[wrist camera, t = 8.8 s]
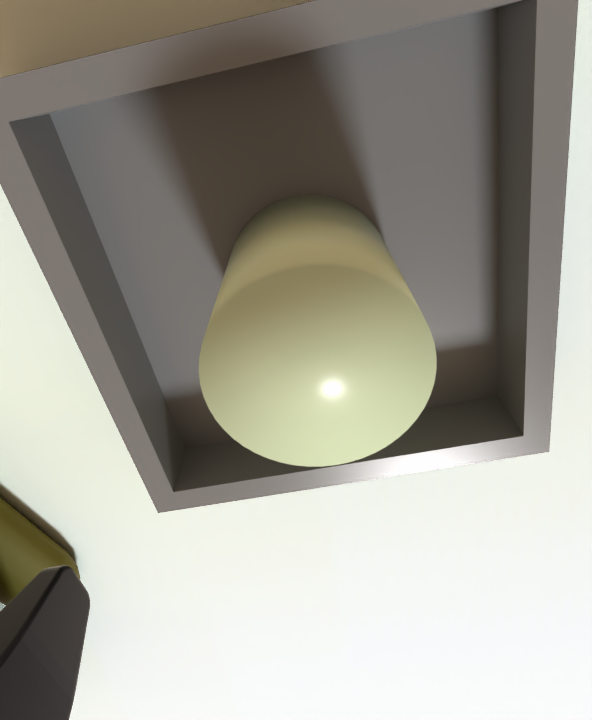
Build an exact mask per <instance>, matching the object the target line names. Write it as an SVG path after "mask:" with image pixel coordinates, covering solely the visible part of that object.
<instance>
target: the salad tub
mask: <svg viewBox="0 0 592 720" xmlns="http://www.w3.org/2000/svg"><path fill="white" fill-rule="evenodd" d="M436 366H437V356H436V349H435V343H434V340H433V337H432V333H431V330H430V328H429V326H428V324H427V322H426V320H425V318H424V316H423V314H422V312H421V310H420V309H419V307H418V305H417V303H416V301H415V299H414V297H413V295H412V293H411V291H410V290H409V288H408V286H407V284H406V282H405V280H404V278H403V276H402V274H401V272H400V270H399V269H398V267H397V265H396V263H395V261H394V259H393V257H392V255H391V253H390V251H389V250H388V248H387V246H386V244H385V242H384V240H383V238H382V236H381V234H380V232H379V231H378V230H377V228H376V227H375V225H374V224H373V223H372V222H371V221H370V220H369V218H368V217H367V216H366V215H364V214H363V213H362V212H361V211H359V210H358V209H357V208H355V207H353V206H352V205H350V204H348V203H346V202H344V201H341V200H339V199H336V198H332V197H329V196H323V195H299V196H292V197H289V198H285V199H282V200H279V201H277V202H275V203H272V204H271V205H269V206H267V207H266V208H264V209H262V210H261V211H260V212H259V213H257V214H256V215H255V216H254V217H253V218H252V219H251V220H250V221H249V222H248V223H247V224H246V225H245V227H244V228H243V229H242V231H241V232H240V234H239V236H238V238H237V239H236V241H235V244H234V246H233V249H232V252H231V255H230V258H229V261H228V264H227V268H226V271H225V274H224V277H223V280H222V283H221V286H220V289H219V292H218V296H217V299H216V302H215V305H214V308H213V311H212V314H211V317H210V320H209V324H208V327H207V330H206V333H205V336H204V339H203V342H202V346H201V351H200V356H199V379H200V386H201V389H202V393H203V397H204V399H205V401H206V404H207V406H208V408H209V410H210V412H211V413H212V415H213V416H214V418H215V420H216V421H217V422H218V423H219V425H220V426H221V427H222V428H223V429H224V430H225V431H226V432H227V433H228V434H229V435H230V436H231V437H232V438H233V439H234V440H236V441H237V442H238V443H240V444H241V445H242V446H244V447H246V448H247V449H249V450H251V451H253V452H254V453H256V454H258V455H261V456H263V457H265V458H268V459H271V460H274V461H277V462H281V463H285V464H290V465H297V466H307V467H323V466H332V465H339V464H344V463H349V462H352V461H355V460H359V459H362V458H364V457H367V456H369V455H371V454H374V453H376V452H378V451H379V450H381V449H383V448H385V447H386V446H388V445H389V444H391V443H392V442H394V441H395V440H396V439H398V438H399V437H400V436H401V435H402V434H403V433H405V432H406V431H407V430H408V429H409V428H410V427H411V425H412V424H413V423H414V422H415V421H416V420H417V418H418V417H419V415H420V414H421V412H422V411H423V409H424V408H425V406H426V404H427V402H428V400H429V397H430V395H431V392H432V389H433V386H434V382H435V376H436Z"/></svg>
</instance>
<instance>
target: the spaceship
mask: <svg viewBox="0 0 592 720" xmlns="http://www.w3.org/2000/svg"><path fill="white" fill-rule="evenodd" d="M61 565H68V566H70V567H71V568H72V569H73V570H74V572H75V574H76V575H77V577H78V578H79V580H80V575H79V571H78V567H77V565H76V563H75V561H74V559H73V558H72V557H71V556H70V555H69V554H68V552H67V551H66V550H64V549H63V548H62V547H60V546H59V545H58V544H57V543H56V542H54V541H53V540H52V539H51V538H49V537H48V536H47V535H46V534H45V533H43V532H42V531H41V530H40V529H38V528H37V527H36V526H35V525H33V524H32V523H31V522H30V521H29V520H27V519H26V518H25V517H24V516H22V515H21V514H20V513H19V512H18V511H16V510H15V509H14V508H13V507H11V506H10V505H9V504H8V503H7V502H5V501H4V500H3V499H2V498H0V602H1V603H3V604H5V605H7V604H8V603H9V602H10V601H11V600H12V599H13V598H14V597H15V596H16V595H17V594H18V593H19V592H20V591H21V590H22V589H23V588H24V587H25V586H26V585H27V584H28V583H29V582H30V581H31V580H32V579H33V578H34V577H35V576H36V575H37V574H38V573H40V572H41V571H42V570H43V569H45V568H49V567H55V566H61Z"/></svg>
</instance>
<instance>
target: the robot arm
mask: <svg viewBox="0 0 592 720" xmlns="http://www.w3.org/2000/svg"><path fill="white" fill-rule="evenodd" d="M89 609H90V599H89V595H88V592H87V590H86V589H85V587H84V586H83V584H82V583H81V581H80V580H79V578H78V577H77V575H76V574H75V572H74V570H73V569H72V568H71V567H70V566H68V565H61V566H55V567H49V568H45V569H43V570H42V571H41V572H40V573H38V574H37V575H36V576H35V577H34V578H33V579H32V580H31V581H30V582H29V583H28V584H27V585H26V586H25V587H24V588H23V589H22V590H21V591H20V592H19V593H18V594H17V595H16V596H15V597H14V598H13V599H12V600H11V601H10V602H9V603H8V604H7V605H6V606H5V607H4V608H3V609H2V610H1V611H0V720H69V717H70V713H71V709H72V705H73V700H74V695H75V690H76V685H77V679H78V674H79V668H80V662H81V656H82V650H83V644H84V638H85V633H86V627H87V621H88V615H89Z"/></svg>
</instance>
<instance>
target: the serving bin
mask: <svg viewBox="0 0 592 720" xmlns="http://www.w3.org/2000/svg"><path fill="white" fill-rule="evenodd" d="M577 11H578V0H315V1H311V2H307V3H303V4H299V5H294V6H290V7H286V8H282V9H278V10H274V11H270V12H266V13H262V14H258V15H254V16H250V17H246V18H242V19H238V20H234V21H230V22H226V23H221V24H217V25H213V26H209V27H205V28H201V29H197V30H193V31H189V32H185V33H181V34H177V35H173V36H169V37H165V38H161V39H157V40H153V41H148V42H144V43H140V44H136V45H132V46H128V47H124V48H120V49H116V50H112V51H108V52H104V53H100V54H96V55H92V56H88V57H84V58H80V59H75V60H71V61H67V62H63V63H59V64H55V65H51V66H47V67H43V68H39V69H35V70H31V71H27V72H23V73H19V74H15V75H11V76H6V77H2V78H0V184H1V186H2V188H3V190H4V193H5V195H6V197H7V199H8V201H9V203H10V205H11V207H12V209H13V211H14V213H15V215H16V218H17V220H18V222H19V224H20V226H21V228H22V230H23V232H24V234H25V236H26V238H27V240H28V243H29V245H30V247H31V249H32V251H33V253H34V255H35V257H36V259H37V261H38V263H39V266H40V268H41V270H42V272H43V274H44V276H45V278H46V280H47V282H48V284H49V286H50V288H51V291H52V293H53V295H54V297H55V299H56V301H57V303H58V305H59V307H60V309H61V311H62V313H63V316H64V318H65V320H66V322H67V324H68V326H69V328H70V330H71V332H72V334H73V336H74V338H75V341H76V343H77V345H78V347H79V349H80V351H81V353H82V355H83V357H84V359H85V361H86V363H87V366H88V368H89V370H90V372H91V374H92V376H93V378H94V380H95V382H96V384H97V386H98V388H99V391H100V393H101V395H102V397H103V399H104V401H105V403H106V405H107V407H108V409H109V411H110V414H111V416H112V418H113V420H114V422H115V424H116V426H117V428H118V430H119V432H120V434H121V436H122V439H123V441H124V443H125V445H126V447H127V449H128V451H129V453H130V455H131V457H132V459H133V461H134V464H135V466H136V468H137V470H138V472H139V474H140V476H141V478H142V480H143V482H144V484H145V486H146V489H147V491H148V493H149V495H150V497H151V499H152V501H153V503H154V505H155V507H156V509H157V511H158V513H160V512H167V511H173V510H180V509H186V508H192V507H199V506H205V505H212V504H218V503H224V502H231V501H237V500H244V499H250V498H256V497H263V496H269V495H275V494H282V493H288V492H295V491H301V490H307V489H314V488H320V487H327V486H333V485H339V484H346V483H352V482H358V481H365V480H371V479H378V478H384V477H390V476H397V475H403V474H410V473H416V472H422V471H429V470H435V469H441V468H448V467H454V466H461V465H467V464H473V463H480V462H486V461H493V460H499V459H505V458H512V457H518V456H524V455H531V454H537V453H544V452H549V445H550V430H551V414H552V399H553V383H554V368H555V352H556V337H557V321H558V306H559V290H560V275H561V259H562V244H563V228H564V213H565V197H566V182H567V166H568V151H569V135H570V120H571V104H572V89H573V73H574V58H575V42H576V27H577ZM299 195H323V196H329V197H332V198H336V199H339V200H341V201H344V202H346V203H348V204H350V205H352V206H353V207H355V208H357V209H358V210H359V211H361V212H362V213H363V214H364V215H366V216H367V217H368V218H369V220H370V221H371V222H372V223H373V224H374V225H375V227H376V228H377V230H378V231H379V232H380V234H381V236H382V238H383V240H384V242H385V244H386V246H387V248H388V250H389V251H390V253H391V255H392V257H393V259H394V261H395V263H396V265H397V267H398V269H399V270H400V272H401V274H402V276H403V278H404V280H405V282H406V284H407V286H408V288H409V290H410V291H411V293H412V295H413V297H414V299H415V301H416V303H417V305H418V307H419V309H420V310H421V312H422V314H423V316H424V318H425V320H426V322H427V324H428V326H429V328H430V330H431V333H432V337H433V340H434V343H435V349H436V356H437V366H436V376H435V382H434V386H433V389H432V392H431V395H430V397H429V400H428V402H427V404H426V406H425V408H424V409H423V411H422V412H421V414H420V415H419V417H418V418H417V420H416V421H415V422H414V423H413V424H412V425H411V427H410V428H409V429H408V430H407V431H406V432H405V433H403V434H402V435H401V436H400V437H399V438H398V439H396V440H395V441H394V442H392V443H391V444H389V445H388V446H386V447H385V448H383V449H381V450H379V451H378V452H376V453H374V454H371V455H369V456H367V457H364V458H362V459H359V460H355V461H352V462H349V463H344V464H339V465H332V466H323V467H307V466H297V465H290V464H285V463H281V462H277V461H274V460H271V459H268V458H265V457H263V456H261V455H258V454H256V453H254V452H253V451H251V450H249V449H247V448H246V447H244V446H242V445H241V444H240V443H238V442H237V441H236V440H234V439H233V438H232V437H231V436H230V435H229V434H228V433H227V432H226V431H225V430H224V429H223V428H222V427H221V426H220V425H219V423H218V422H217V421H216V420H215V418H214V416H213V415H212V413H211V412H210V410H209V408H208V406H207V404H206V401H205V399H204V397H203V393H202V389H201V386H200V379H199V356H200V351H201V346H202V342H203V339H204V336H205V333H206V330H207V327H208V324H209V320H210V317H211V314H212V311H213V308H214V305H215V302H216V299H217V296H218V292H219V289H220V286H221V283H222V280H223V277H224V274H225V271H226V268H227V264H228V261H229V258H230V255H231V252H232V249H233V246H234V244H235V241H236V239H237V238H238V236H239V234H240V232H241V231H242V229H243V228H244V227H245V225H246V224H247V223H248V222H249V221H250V220H251V219H252V218H253V217H254V216H255V215H256V214H257V213H259V212H260V211H261V210H262V209H264V208H266V207H267V206H269V205H271V204H272V203H275V202H277V201H279V200H282V199H285V198H289V197H292V196H299Z"/></svg>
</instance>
